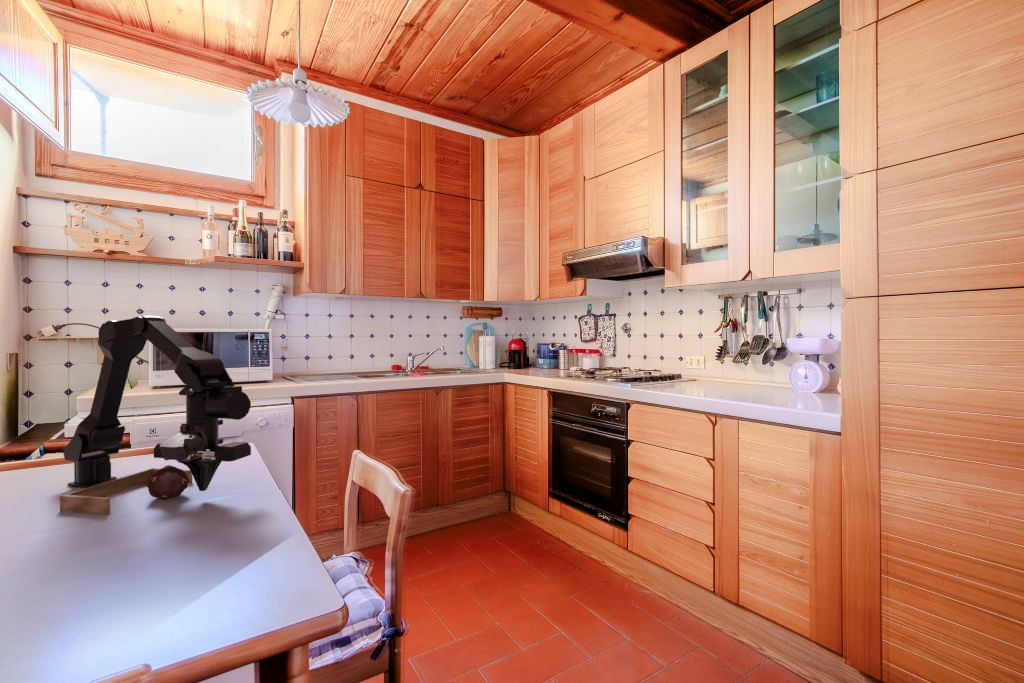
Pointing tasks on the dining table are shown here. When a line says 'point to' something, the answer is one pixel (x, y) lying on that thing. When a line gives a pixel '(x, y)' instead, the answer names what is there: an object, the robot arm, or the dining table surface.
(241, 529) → the dining table surface
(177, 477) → the icecream
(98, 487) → the holder
